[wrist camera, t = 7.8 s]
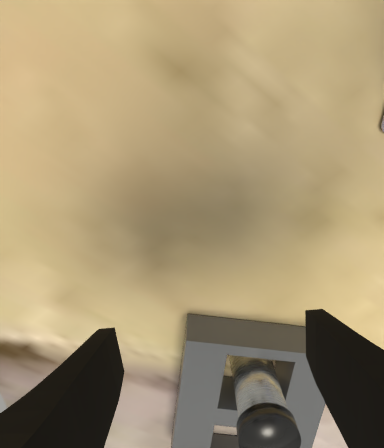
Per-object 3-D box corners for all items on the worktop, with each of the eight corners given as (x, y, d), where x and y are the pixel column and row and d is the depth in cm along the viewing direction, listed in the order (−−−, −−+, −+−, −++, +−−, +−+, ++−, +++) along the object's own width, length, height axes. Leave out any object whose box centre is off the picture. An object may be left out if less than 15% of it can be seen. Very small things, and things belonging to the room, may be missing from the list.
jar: (273, 335, 23) (305, 420, 16) (268, 372, 24) (296, 466, 17) (228, 333, 23) (241, 417, 16) (224, 370, 24) (236, 464, 17)
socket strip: (325, 328, 23) (344, 357, 20) (291, 448, 26) (303, 487, 23) (187, 313, 22) (186, 340, 20) (171, 435, 26) (168, 474, 23)
